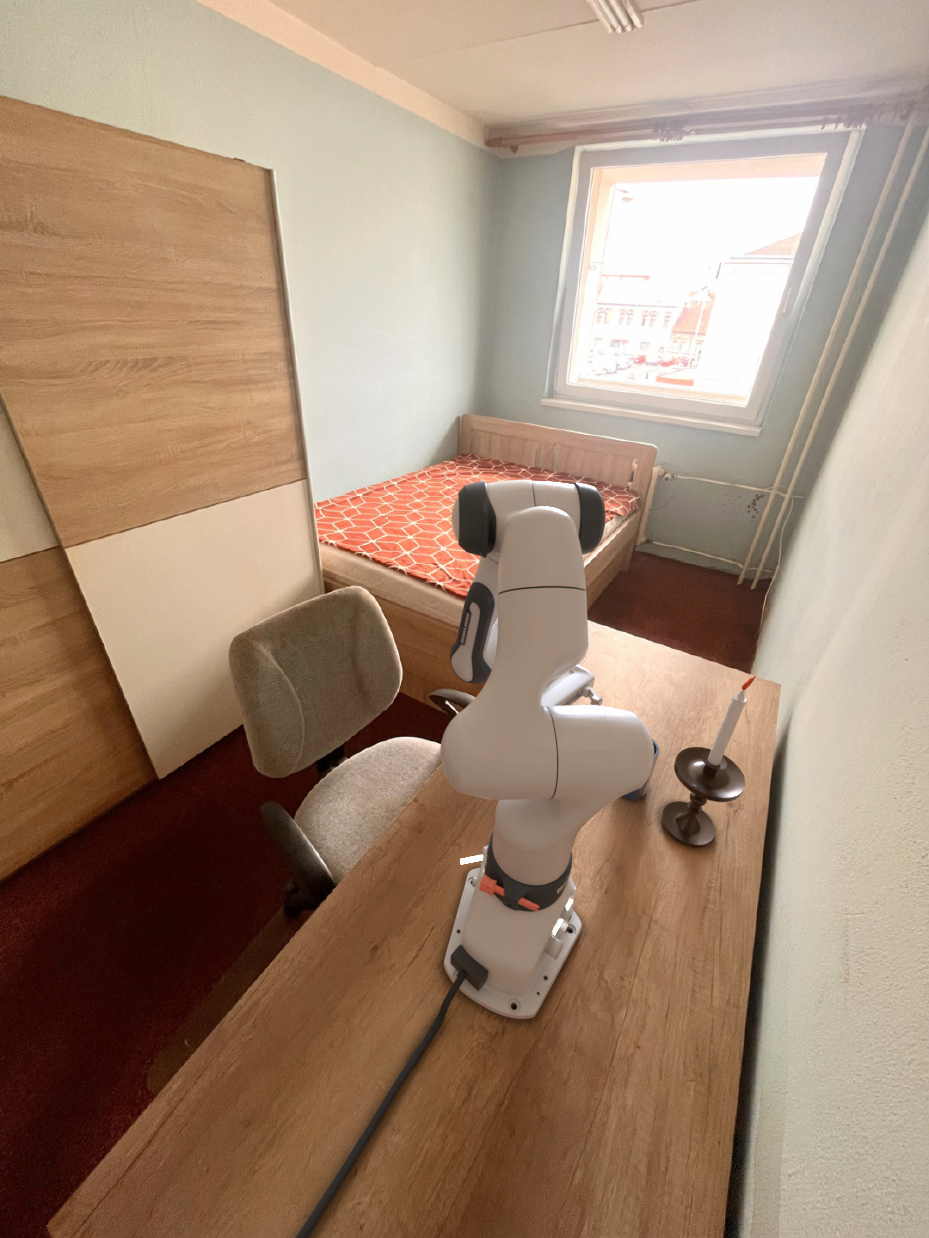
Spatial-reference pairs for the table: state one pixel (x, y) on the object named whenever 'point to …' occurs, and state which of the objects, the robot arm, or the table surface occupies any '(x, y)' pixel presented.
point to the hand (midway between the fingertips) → (587, 714)
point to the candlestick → (705, 782)
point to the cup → (641, 792)
